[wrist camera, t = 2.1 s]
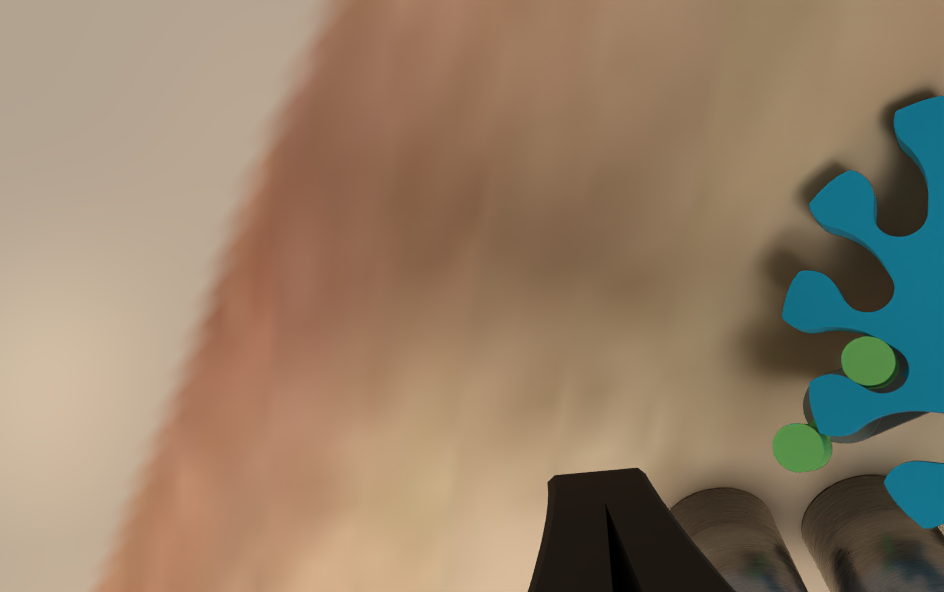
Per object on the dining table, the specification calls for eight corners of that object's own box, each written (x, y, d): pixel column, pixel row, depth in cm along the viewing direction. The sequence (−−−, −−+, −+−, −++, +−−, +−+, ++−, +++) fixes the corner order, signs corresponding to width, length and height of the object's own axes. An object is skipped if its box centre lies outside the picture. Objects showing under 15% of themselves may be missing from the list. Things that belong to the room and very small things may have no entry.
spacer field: (1259, -284, 15) (1551, -354, 11) (1055, 548, 23) (1175, 683, 19) (641, -201, 16) (700, -238, 12) (659, 580, 24) (697, 718, 20)
